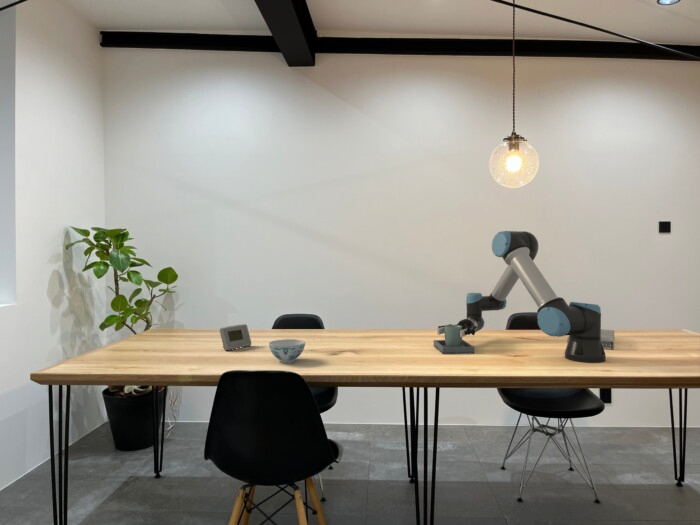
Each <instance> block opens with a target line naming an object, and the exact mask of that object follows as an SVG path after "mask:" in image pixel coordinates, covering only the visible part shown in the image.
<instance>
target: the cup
mask: <svg viewBox="0 0 700 525" xmlns="http://www.w3.org/2000/svg"><path fill="white" fill-rule="evenodd" d="M461 330H462V326H460V325H456V324H452V325H449V324H445V333H444V340H445V344H446V346H447V347H460V346H461V343H462V340H463V337H460V331H461Z"/></svg>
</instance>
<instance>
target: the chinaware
mask: <svg viewBox="0 0 700 525" xmlns="http://www.w3.org/2000/svg"><path fill="white" fill-rule="evenodd" d="M268 346H269V347H268V348H269V349H270V352H271V354H272V355H273V356H274V357H275V358H276V359H277V360H278V362H279V363H281V364H287V362H290V363H294V362H296V359H298V358H299V357H300V356H301V355H302V353H303V352H304V349H305V346H306V340H302V339H295V338H294V339H293V338H290V339H289V338H287V339H277V340H276V339H275V340H272V341H270V342H268Z"/></svg>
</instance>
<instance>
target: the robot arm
mask: <svg viewBox="0 0 700 525" xmlns="http://www.w3.org/2000/svg"><path fill="white" fill-rule="evenodd" d="M538 251H539V241H538V239H537V236H535V235H534V234H533V233H531V232H529V231H519V230H518V231H516V230H515V231H514V230H513V231H511V230H503V231H502V230H501V231H498V232H497V233H495V235H494V237H493V239H492V242H491V252H492V253H493V255H494V256H495V257H497V258H502V260H503V261H504V263H505V264H506V265H507V266H506V268H505V270H504V271H503V273H502V275H501V276H500V277H499V279H498V282H497V283H496V285H495V286H494V287H493V289H492V291H491V293H490V294H489V295H482V293H481V292H468V293H467V294H466V300H465V302H466V318H464V319H460V320H459V321H458V323H457V324H455V325H460V326H462V330H461V331H460V337H462V338H463V337H466V336H470V335H471V336H472V335H473V336H475V334H476V333H477V332H479V331H480V330H482V329H483V328H484V327H485V319H484V318H483V312H487V311H499V310H501V311H502V310H504V309H506V307H507V303H508V301H507V298H508V296H509V294H510V293H511V292H512V290H513V289H514V286H515V285H516V283H517V281H518V280H519V279H520V281H521V283H522V284H523V286H524V287H525V289H526V291H527V292H528V294H529V295H530V297H531V298H532V299H533V301H534V302H535V304H536V306H537V311H536V313H537V317H536V318H537V325H538V327H539V328H540V330H541V331H542V332H543V333H544V334H545V335H547V336H550V337H566V336H567V337H568V336H569V342H568V341H567V344H566V347H565V350H564V358H565V359H567V360H570V361H573V362H574V361H575V362H582V363H602V362H605V361H607V360H606V358H607V356H606V352H605V349H603V346H602V343H601V329H602V325H601V322H602V312H601V306H600V305H598V304H594V303H586V302H575V301H570V302H569V304H568V303H567V302H566V300H565V299H564V298H563V297H560V296H558V295H557V294H556V292H555V291H554V289H553V288H552V286H551V285H550V284H549V282H548V280H547V279H546V278H545V276H544V275H543V274H542V272H541V271H540V269H539V267H538V266H537V264H536V263H535V262H534V260H535V259H536V257H537V255H538V253H539V252H538ZM445 325H446V324H445ZM445 325H439V326H437V334H436V335H437V336H440V335H444V334H445ZM448 325H453V324H452V323H450V324H448Z"/></svg>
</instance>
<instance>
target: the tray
mask: <svg viewBox="0 0 700 525" xmlns="http://www.w3.org/2000/svg"><path fill="white" fill-rule="evenodd" d="M433 347H434V348H435V349H437V351H439V353H441V354H442V355H462V354H463V355H464V354H467V355H469V354H475V347H474V346H473V345H472V344H470V343H468V342H467V341H466V340H464V339H462V343H461V346H460V347H447V346H446V344H445V339H437V340H436V339H434V340H433Z"/></svg>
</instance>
